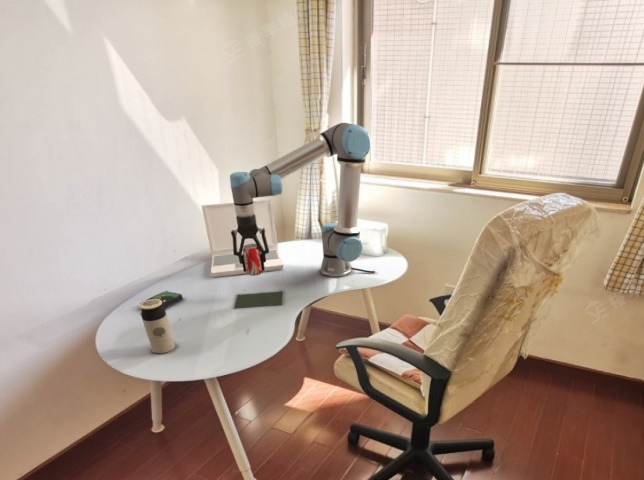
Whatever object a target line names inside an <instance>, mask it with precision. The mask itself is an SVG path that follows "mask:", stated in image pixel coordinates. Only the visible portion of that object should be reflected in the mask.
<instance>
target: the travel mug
mask: <svg viewBox="0 0 644 480" xmlns="http://www.w3.org/2000/svg"><path fill="white" fill-rule="evenodd" d="M145 300H146V301H145ZM145 300H143V301H141V302H142V303H141V302H139V303H140V304H138V307H139V309H140V310H141V312H140V316H141V320H142V322H143V325H144V329H145V332H146V335H147V339H148V341H149V344H150V347H151V350H152V352H153V353H155V354H166V353H168V352H171V351H173V350H174V349H175V347H176V343H175V340H174V336H173V333H172V329H171V326H170V323H169V319H168V315H167V312H166V308H165V309H164V308H163V307H162V301H161V300H159V299H150V300H147V299H145Z"/></svg>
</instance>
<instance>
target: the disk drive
mask: <svg viewBox="0 0 644 480" xmlns="http://www.w3.org/2000/svg"><path fill="white" fill-rule="evenodd" d="M150 299H159V300H161V301H162V307H163V308H164V309H165V310H166V309H167V308H169V307H171V306H173V305H175V304H178V303H179V302H181V301H182V300H184V298H183V294H181V293H177V292H175V291H174V292H173V291H168V290H165V291H162V292H160V293H158V294H156V295H153V296H151V297H149V298H146V299H145V300H144V301H146V300H150ZM142 302H143V301H140V302H139V304H140V303H142ZM139 304H138V305H139Z"/></svg>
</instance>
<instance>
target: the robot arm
mask: <svg viewBox="0 0 644 480" xmlns="http://www.w3.org/2000/svg"><path fill="white" fill-rule="evenodd" d="M371 148H372V139H371V136H370V133H369V132H368V130H367V129H366V128H365V127H363V126H361V125H359V124H355V123H349V122H339V123H337V124H335V125H333V126H331V127H330V128H329V127H328V129H326V130H324V131H322V132H320V133H319V134H318V135H317V138H315V139H313V140H310V142H308V143H306V144H303V145H301V146H300V147H297V148H296V149H294V150H291V151H290V152H288V153H286V154H285V155H283V156H281V157H279V158H277V159H275V160H274V161H272V162H269V163H267V164H266V165H264V166H262V167H259V168H253V169H252V170H250V171H249V172H248V171H236V172H232V173H231V174H230V175H229V183H230V189H231V190H230V191H231V196H232V200H233V203H234V207H235V213H236V215H237V217H236V219H237V225H238V228H237V230H232V231H231V235H232V237H233V253H234V255H236V256H238V257H239V262H240V264H243V270H244V272H246V268H245V263H244V257H243V255H242V250H243V246H244V241H245V239H249V238H250V239H253V240H254V241H255V243H256V245H257V246H258V248H259V250H260V252H261V255H260V257H261V264H262V271H264V270H265V267H264V262H266V256H265V254H267V253H269V248H268V244H267V240H266V236H265V228H263V229H261V228H258V226H257V223H256V217H255V214H254V213H255V210H254V203H253V201H254V199H257V198H265V197H275V196H279V195H281V194H282V193H283V181H282V180H284V179H285V178H287V177H289V176H291V175H293V174H295V173H297V172H299V171H300V170H303V169H304V168H307V167H309V166H310V165H312V164H314V163H316V162H318V161H320V160H321V159H323V158H325V157H326V158H330V157H333V156H335V155H336V161H337V163H338V164H339V166H340V167H339V186H338V206H337V222H331V223H326V224H323V225H322V226H321V232H320V233H321V238H322V239H321V244H322V256H323V257H322V261H321V265H320V273H321V275H323V276H325V277H329V278H341V277H345V276H348V275H350V274H351V273H352V272H353V271H357V272H363V273H367V274H375V273H376V270H366V269H362V268H356V267H353V266H352V262H354V261H356V260H357V259H358V258H360V256H361V255H362V253H363V249H364V247H363V242H362V240H361V239H360V235H361V229H360V228H359V227H358V216H359V201H360V189H361V188H360V187H361V173H362V167H363V166H364V165H365V164H366V158H367V156H368V154H369V153H370V151H371ZM258 231H259V232H260V234H262V240H263V243H264V247H265V250H264V249H263V247H262V245H261V243H260V242H259V240H258V238H257V236H256V234H257V232H258ZM237 233H239V234H240V235H241V236H242V239H241V244H240V249H239V252H237V238H236V236H237Z"/></svg>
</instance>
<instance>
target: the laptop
mask: <svg viewBox="0 0 644 480" xmlns="http://www.w3.org/2000/svg"><path fill="white" fill-rule="evenodd" d="M253 203H254V210H255V213H254V214H255V217H256V223H257V226H258V228H261V229H263V228H265V236H266V240H267V244H268V248H269V253H267V254H265V256H266V262H264V267H265V270H264V271H263V272H273V271H281V270H283V269H284V262H283V261H282V257H281V254H280V251H279V246H278V245H279V244H278V238H277V237H278V236H277V229H276V222H275V213H274V206H273V205H274V204H273V199H270V198H269V199H259V200H253ZM201 210H202V214H203V220H204V225H205V230H206V233H207V238H208V244H209V248H210V249H209V250H210V253H211V267H210V268H211V269H210V275H211V277H213V278H221V277H231V276H239V275H248V274H247V272H244V270H243V264H240V262H239V257H238V256H236V255H234V253H233V237H232V235H231V231H232V230H237V228H238V225H237V219H236V217H237V215H236V213H235V207H234V202H224V203H215V204H214V203H213V204H203V205H201ZM256 236H257V238H258V240H259V242H260V243H261V245H262V247H263V249H264V250H265V247H264V243H263V240H262V234H260V232H259V231H258V232H257V234H256ZM236 238H237V252H239V249H240V244H241V239H242V236H241V235H240V234H239V233H237V236H236ZM246 244H256V243H255V241H254V240H253V239H250V238H249V239H245V241H244V245H246ZM243 249H244V247H243ZM260 254H261V252H260ZM242 255H243V250H242ZM263 272H262V273H263Z"/></svg>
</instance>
